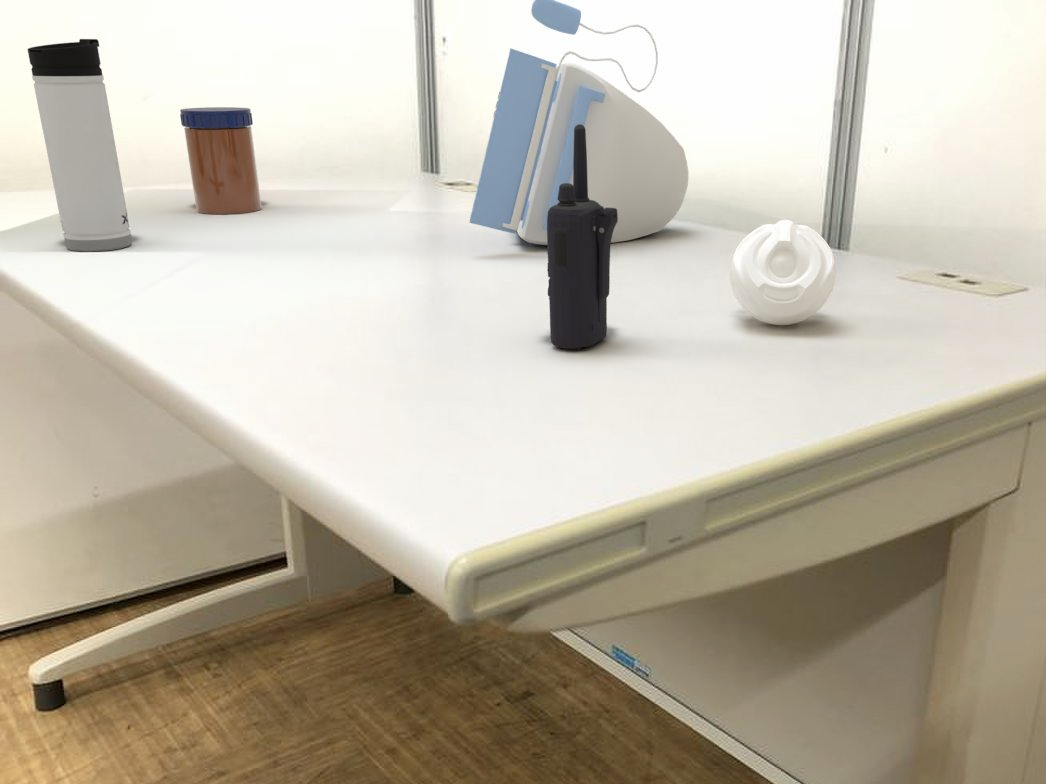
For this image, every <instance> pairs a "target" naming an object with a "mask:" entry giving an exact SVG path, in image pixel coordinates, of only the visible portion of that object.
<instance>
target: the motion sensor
mask: <svg viewBox="0 0 1046 784" xmlns="http://www.w3.org/2000/svg"><path fill="white" fill-rule="evenodd" d="M729 268H730V270H729V279H730V280H729V281H730V285H731V290H732V292H733V294H734V295H733V296H735V299H736V300H737V302H738V303H739V305H740V306H741V307H742V308H743V309H744V311H746V312H747V313H748V314H749V315H750V316H752V317H753V318H755V319H756V320H758V321H760V322H762V323H765V324H768V325H772V326H773V325H774V326H790V325H795V324H798V323H802V322H803V321H806V320H807V319H809V318H811V317H812V316H813V315H815V314H816V313H818V311H819V310H821V309H822V308H823V306H824V305H825V304H826V302H828V300H829V298H830V297H831V295H832V292H833V290H834V287H835V282H836V276H837V275H836V274H837V269H836V268H837V267H836V262H835V257H834V253H833V251H832V248H831V247H830V245H829V244H828V242H827V241H826V240H825V239H824V238H823V236H822V235H821V234H820V233H818V232H817V231H816V230H814V229H813V228H811V227H810V226H807V225H805V224H796V223H795V222H794V221H793V220H790V219H780V220H779V221H777V222H776V223H773V224H772V223H765V224H763V225H761V226H759V227H756V228H754V230H752V231H751V232H750V233H749V234H747V235H746V236H745V237H743V239H742V240H741V241H740V243H738V245H737V247H736V249H735V250H734V253H733V257H732V259H731V263H730V267H729Z"/></svg>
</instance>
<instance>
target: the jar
mask: <svg viewBox="0 0 1046 784" xmlns="http://www.w3.org/2000/svg"><path fill="white" fill-rule="evenodd" d="M183 130H184V137H185V142H186V144H185V145H186V149H187V158H188V164H189V170H190V176H191V182H192V183H191V184H192V190H193V197H194V203H195V210H196V213H200V214H204V215H205V214H206V215H237V214H238V215H239V214H248V213H253V212H257V211H260V210H262V200H261V191H260V183H259V175H258V168H257V160H256V153H255V145H254V138H253V137H254V136H253V128H252V125H251V126H245V127H229V128H192V127H184V129H183Z"/></svg>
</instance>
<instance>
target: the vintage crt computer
mask: <svg viewBox="0 0 1046 784" xmlns="http://www.w3.org/2000/svg"><path fill="white" fill-rule="evenodd" d="M530 11H531V15H532V17H533V19H534V20H536V21H537V22H538V23H539V24H541V25H543V26H544V27H546V28H547V29H551V30H553V31H556V32H558V33H564V34H567V35H573V36H574V35H576V34H577V32H578V30H579V27H582V28H584V29H586V30H588V31H591V32H593V33H596V34H601V35H612V34H616V33H619V32H621V31H624V30H626V29H628V28H636V27H637V28H639V29H643V30H645V32H646V33H647V34H648V35H649V36H650V39H651V41H652V43H653V47H654V51H655V65H654V70H653V74H652V76H651V78H650V80H649V82H648V83H647V84H646V85H645V87H643V88H640V89H637V88H636V87H633V85H632V84H631V83H630V82H629V79H628V78H627V76H626V73H625V71H624V68H623V65H621V64H620V62H619V61H618V60H616V59H614V58H588V57H584V56H581V55H580V54H578V53H577V52H574V51H571V50H569V51H567V52H565V53H564V54H563V56H562V57H561V59H560V61H559V63H558V65H557V63H555V62H551V61H549V60H546V59H544V58H542V57H541V58H540V57H539V56H535V55H532V54H529V53H526V52H523V51H520V50H518V49H514V48H512V47H510V48H509V52H508V56H507V59H506V63H505V68H504V73H503V76H502V81H501V85H500V90H499V91H498V96H497V101H496V104H495V110H494V113H493V119H492V123H491V126H490V131H489V136H488V140H487V145H486V149H485V153H484V157H483V162H482V166H481V170H480V174H479V179H478V182H477V187H476V191H475V195H474V199H473V203H472V209H471V212H470V217H469V220H468V223H469V224H473V225H477V226H481V227H485V228H489V229H493V230H497V231H501V232H505V233H510V234H515V233H516V232H517V235H518V236H519V237H520V238H521V239H523V241H526V242H527V243H529V244H534V245H542V246H547V215H548V211H549V209H550V208H551V207H552V206H554V205H556V204H558V203H559V200H558V193H559V186H560V185H561V184H563V183H570V184H572V185H573V156H574V128H575V126H576V125H578V124H581V125H583V126H584V127H585V131H586V151H587V179H588V198H589V200H594V201H596V202H597V203H599V204H600V206H603V207H604V209H605V208H615V209H617V214H618V221H617V224H616V225H615V228H614V231H613V234H612V239H611V244H612V243H620V242H625V241H632V240H635V239H638V238H642V237H645V236H648V235H652V234H654V233H657V232H660V231H662V230H663V229H664V228H665V227H666V226H667V225H668V224H669V223H670V222H671V221H672V220H673V219H674V217H675V216H676V215H677V214H678V212H679V210H680V209H681V207H682V205H683V203H684V200H685V197H686V194H687V193H686V192H687V190H688V186H689V167H688V161H687V157H686V152H685V149H684V147H683V146H682V145H681V144H680V142H679V141H678V140H677V139H676V137H675V136H674V135H673V134H672V133H671V132H670V131H669V129H668V128H667V127H666V126H665V124H663V123H662V122H661V121H660V120H659V119H658V118H657V117H656V116H654V115H653V114H652V113H651V112H650V111H648V110H647V109H646V108H645V107H643V106H642V104H640V103H638V102H636V101H635V100H634V99H632V98H631V97H629V96H628V95H627V94H626V93H624V92H623V91H621V90H620V89H618V87H615V86H614V85H612V84H611V83H610V82H608V81H607V80H605V79H604V78H603V77H601V76H600V75H598V74H596V73H595V72H594V71H592V70H589V69H587V68H586V67H585V68H584V67H582V66H581V65H579V64H576V63H567V62H565V63H562V62H563V61H564V59H565V58H566V56H568V55H570V54H571V55H573V56H576V57H578V58H579V59H581V60H584V61H588V62H601V61H610V62H614V63H616V64H617V66H618V67H619V68H620V70H621V72H622V74H623V78H624V79H625V81H626V83H627V85H628V86H629V87H630V89H632V91H634V92H637V93H640V92H643V91H645V90H647V89H648V87H649V86H650V85H651V84H652V83H653V80H654V78H655V76H656V72H657V67H658V62H659V61H658V59H659V58H658V56H659V55H658V54H659V53H658V49H657V44H656V41H655V40H654V39H655V38H654V37H653V35H652V33H651V32H650V31H649V30H648V28H646V27H645V26H643V25H640V24H630V25H627V26H623V27H621V28H618V29H616V30H613V31H605V32H604V31H600V30H595V29H593V28H591V27H588V26H587V25H584V23H582V22H581V18H582V11H581V10H580V9H578V8H576V7H573V6H572V5H569V4H566V3H562V2H560V1H557V0H533V3H532V5H531V10H530Z"/></svg>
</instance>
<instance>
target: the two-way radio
mask: <svg viewBox="0 0 1046 784" xmlns="http://www.w3.org/2000/svg"><path fill="white" fill-rule="evenodd" d="M558 200H559V203H558V204H556V205H554V206H552V207H551V208H550V209H549V211H548V215H547V245H546V246H547V268H546V269H547V270H546V271H547V276H548V288H547V297H548V301H549V330H550V333H549V334H550V342H551V344H552V345H553V346H554V347H556V348H557V349H565V350H574V351H581V350H582V348H586V347H590V346H593V345H595V344H597V343H599V342H600V341H602V340H603V339H605V338H606V337H607V332H608V321H607V319H608V318H607V317H608V315H607V311H608V307H607V306H608V303H607V302H608V300H607V299H608V297H609V296H610V285H611V284H610V283H611V282H610V280H611V279H610V275H611V273H610V271H611V269H610V267H611V266H610V265H611V246H612V243H611V239H612V234H613V231H614V228H615V225H616V224H617V221H618V214H617V209H615V208H605V209H604V207H603V206H600V204H599V203H597V202H596V201H594V200H589V198H588V179H587V151H586V131H585V127H584V126H583V125H581V124H578V125H576V126H575V128H574V156H573V185H572V184H570V183H563V184H561V185H560V186H559V193H558Z"/></svg>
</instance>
